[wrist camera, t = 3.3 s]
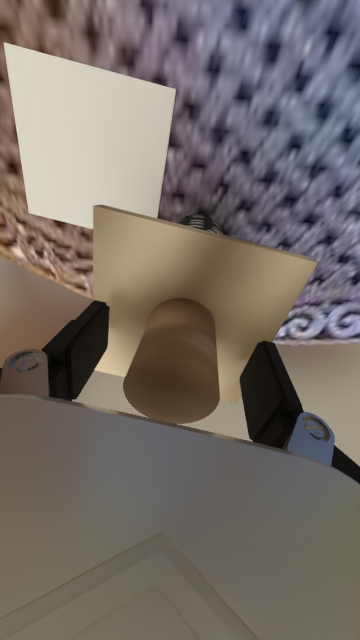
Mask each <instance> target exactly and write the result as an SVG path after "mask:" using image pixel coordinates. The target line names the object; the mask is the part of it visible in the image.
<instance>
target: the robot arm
mask: <svg viewBox="0 0 360 640" xmlns="http://www.w3.org/2000/svg"><path fill="white" fill-rule="evenodd" d="M109 311H110V307H109V306H107V304H106V302H102V301H98V300H94V301H93V302H92V303H91V304H90V305H89V306H88V307H87V308H86V309H85V310H84V311H83V313H81V314H80V316H79V317H77V319H75V320H71V321H70V322H69V323H68V324H67V325H66V326H65V327H64V328H63V329H62V330H61V331H60V332H59V333H58V334H57V335H56V336H55V337H54V338H53V339H52V340H51V341H50V342H49V343H48V344H47V345H46V346H45V347H44V348H43V349H42V350H41V351H40V350H36V349H26V350H22V351H18V352H16V353H14V354H12V355H10V356H9V357H8V358H7V359H6V360H5V362H4V364H3V368H0V640H360V467H359V466H358V465H357V464H356V463H355V462H354V461H352V460H351V459H350V458H349V457H348V456H347V455H345V454H344V453H343V452H342V451H341V450H339V449H338V448H337V447H336V446H335V445H334V442H335V439H334V434H333V432H332V430H331V429H330V427H329V426H328V425H327V424H326V423H325V422H324V421H323V420H322V419H321V418H319V417H318V416H316V415H314V414H312V413H309V412H304V411H303V408H302V405H301V402H300V400H299V398H298V396H297V393H296V391H295V389H294V387H293V384H292V382H291V380H290V378H289V375H288V373H287V371H286V368H285V366H284V364H283V362H282V359H281V357H280V355H279V353H278V350H277V348H276V346H275V344H274V343H272V342H268V341H262V342H258V344H257V345H256V347H255V349H254V351H253V353H252V355H251V357H250V358H249V360H248V362H247V364H246V366H245V368H244V370H243V372H242V373H241V375H240V380H239V381H240V387H241V393H242V399H243V405H244V410H245V416H246V422H247V427H248V433H249V438H250V439H251V440H253V442H251V441H247V440H242V439H238V438H234V437H230V436H225V435H221V434H217V433H213V432H208V431H204V430H199V429H195V428H191V427H186V426H182V425H177V424H173V423H169V422H164V421H160V420H155V419H151V418H146V417H142V416H137V415H133V414H128V413H124V412H119V411H115V410H110V409H106V408H101V407H97V406H92V405H87V404H83V403H78V402H73V401H72V399H76V398H77V397H78V396H79V394H80V392H81V391H82V389H83V387H84V386H85V384H86V383H87V381H88V379H89V378H90V376H91V374H92V373H93V371H94V369H95V368H96V366H97V364H98V363H99V361H100V360H101V358H102V356H103V355H104V353H105V351H106V349H107V347H108V332H109Z"/></svg>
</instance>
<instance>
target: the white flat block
mask: <svg viewBox="0 0 360 640" xmlns="http://www.w3.org/2000/svg"><path fill="white" fill-rule="evenodd" d="M4 48H5V54H6V61H7V68H8V75H9V81H10V88H11V95H12V102H13V108H14V115H15V122H16V129H17V135H18V142H19V149H20V156H21V162H22V169H23V176H24V183H25V189H26V196H27V203H28V210H29V213H31V214H35V215H39V216H43V217H47V218H51V219H55V220H59V221H63V222H67V223H71V224H75V225H79V226H83V227H87V228H91V229H93V206H95V205H101V204H102V205H106V206H110V207H114V208H118V209H122V210H126V211H130V212H134V213H138V214H142V215H146V216H150V217H154V218H158V212H159V205H160V199H161V192H162V185H163V178H164V171H165V165H166V158H167V151H168V144H169V138H170V131H171V124H172V117H173V110H174V104H175V97H176V89H173V88H169V87H165V86H162V85H158V84H154V83H151V82H147V81H143V80H140V79H136V78H132V77H129V76H125V75H121V74H118V73H114V72H110V71H107V70H103V69H99V68H96V67H92V66H88V65H85V64H81V63H77V62H74V61H70V60H66V59H63V58H59V57H55V56H52V55H48V54H44V53H41V52H37V51H33V50H30V49H26V48H22V47H19V46H15V45H11V44H8V43H4Z"/></svg>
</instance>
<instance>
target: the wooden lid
mask: <svg viewBox="0 0 360 640" xmlns="http://www.w3.org/2000/svg"><path fill="white" fill-rule="evenodd" d="M317 263H318V262H316V261H315V260H313V259H312V258H310V257H308V256H304V255H300V254H296V253H292V252H288V251H284V250H280V249H276V248H272V247H268V246H264V245H260V244H256V243H253V242H249V241H245V240H241V239H237V238H233V237H229V236H225V235H221V234H217V233H213V232H209V231H205V230H201V229H197V228H193V227H189V226H185V225H181V224H177V223H173V222H170V221H166V220H162V219H158V218H154V217H150V216H146V215H142V214H138V213H134V212H130V211H126V210H122V209H118V208H114V207H110V206H106V205H102V204H101V205H95V206H93V301H94V300H98V301H102V302H106V304H107V306H109V307H110V311H109V332H108V347H107V349H106V351H105V353H104V355H103V356H102V358H101V360H100V361H99V363H98V364H97V366H96V368H95V369H94V370H96V371H100V372H105V373H109V374H113V375H118V376H122V377H125V379H124V383H123V389H124V393H125V396H126V398H127V400H128V401H129V403H130V404H131V405H132V406H133V407H134V408H135V409H136V410H138V411H139V412H140V413H142V414H144V415H145V416H147V417H149V418H151V419H155V420H160V421H164V422H169V423H173V424H184V423H191V422H195V421H198V420H201V419H203V418H205V417H207V416H208V415H209V414H211V413H212V412H213V411H214V410H215V409H216V407H217V405H218V403H219V399H222V400H227V401H230V402H235V403H237V402H238V401H239V399H240V397H241V395H242V393H241V387H240V381H239V380H240V375H241V373H242V372H243V370H244V368H245V366H246V364H247V362H248V360H249V358H250V357H251V355H252V353H253V351H254V349H255V347H256V345H257V344H258V342H262V341H268V342H273V340H274V338H275V336H276V335H277V333H278V331H279V329H280V328H281V326H282V324H283V322H284V321H285V319H286V317H287V315H288V314H289V312H290V310H291V309H292V307H293V305H294V303H295V302H296V300H297V298H298V296H299V295H300V293H301V291H302V289H303V288H304V286H305V284H306V282H307V281H308V279H309V277H310V276H311V274H312V272H313V270H314V269H315V267H316V265H317Z"/></svg>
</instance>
